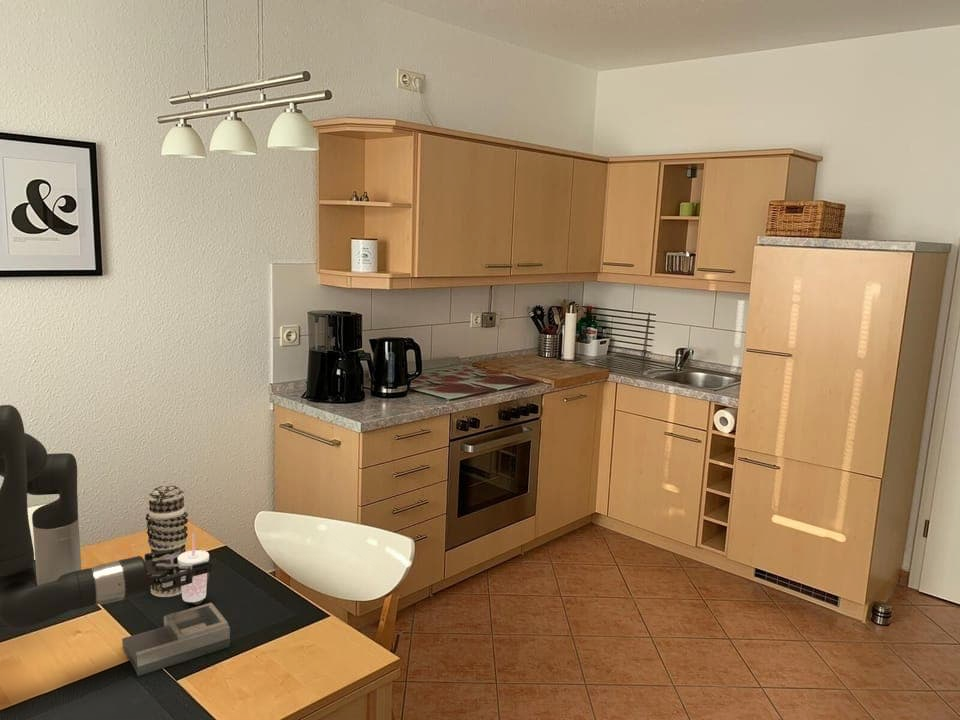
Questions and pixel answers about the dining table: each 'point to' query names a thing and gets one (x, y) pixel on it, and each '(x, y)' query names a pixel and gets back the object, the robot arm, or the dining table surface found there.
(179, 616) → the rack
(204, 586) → the beverage cup
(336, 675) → the dining table surface
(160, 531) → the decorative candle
